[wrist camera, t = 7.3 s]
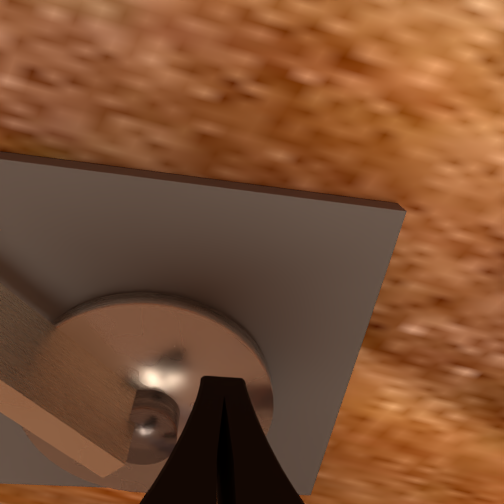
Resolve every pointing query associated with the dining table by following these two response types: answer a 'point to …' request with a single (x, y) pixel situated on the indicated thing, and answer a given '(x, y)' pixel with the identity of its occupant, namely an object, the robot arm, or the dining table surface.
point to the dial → (119, 379)
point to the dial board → (202, 278)
